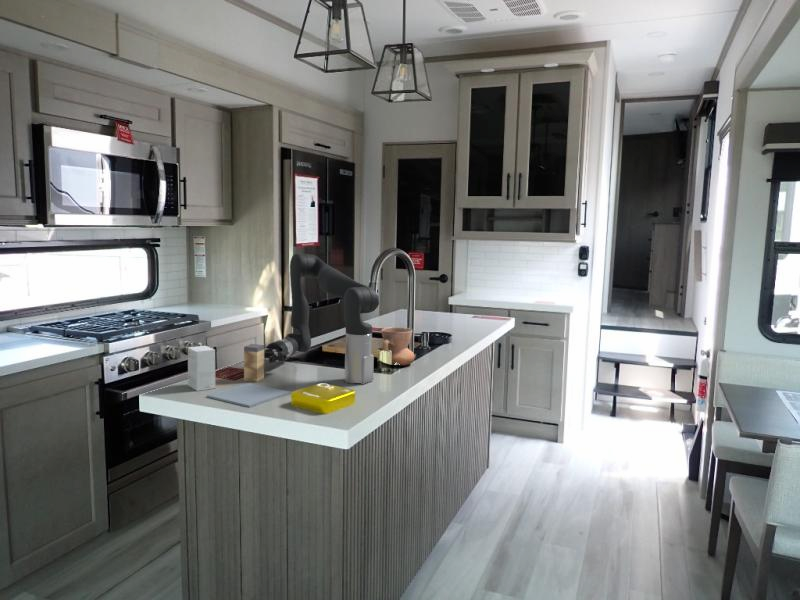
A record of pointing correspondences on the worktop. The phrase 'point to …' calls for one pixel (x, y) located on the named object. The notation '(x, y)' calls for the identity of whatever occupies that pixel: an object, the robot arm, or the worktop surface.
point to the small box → (201, 368)
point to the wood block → (253, 362)
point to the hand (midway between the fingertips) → (258, 359)
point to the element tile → (323, 398)
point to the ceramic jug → (398, 344)
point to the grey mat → (248, 394)
